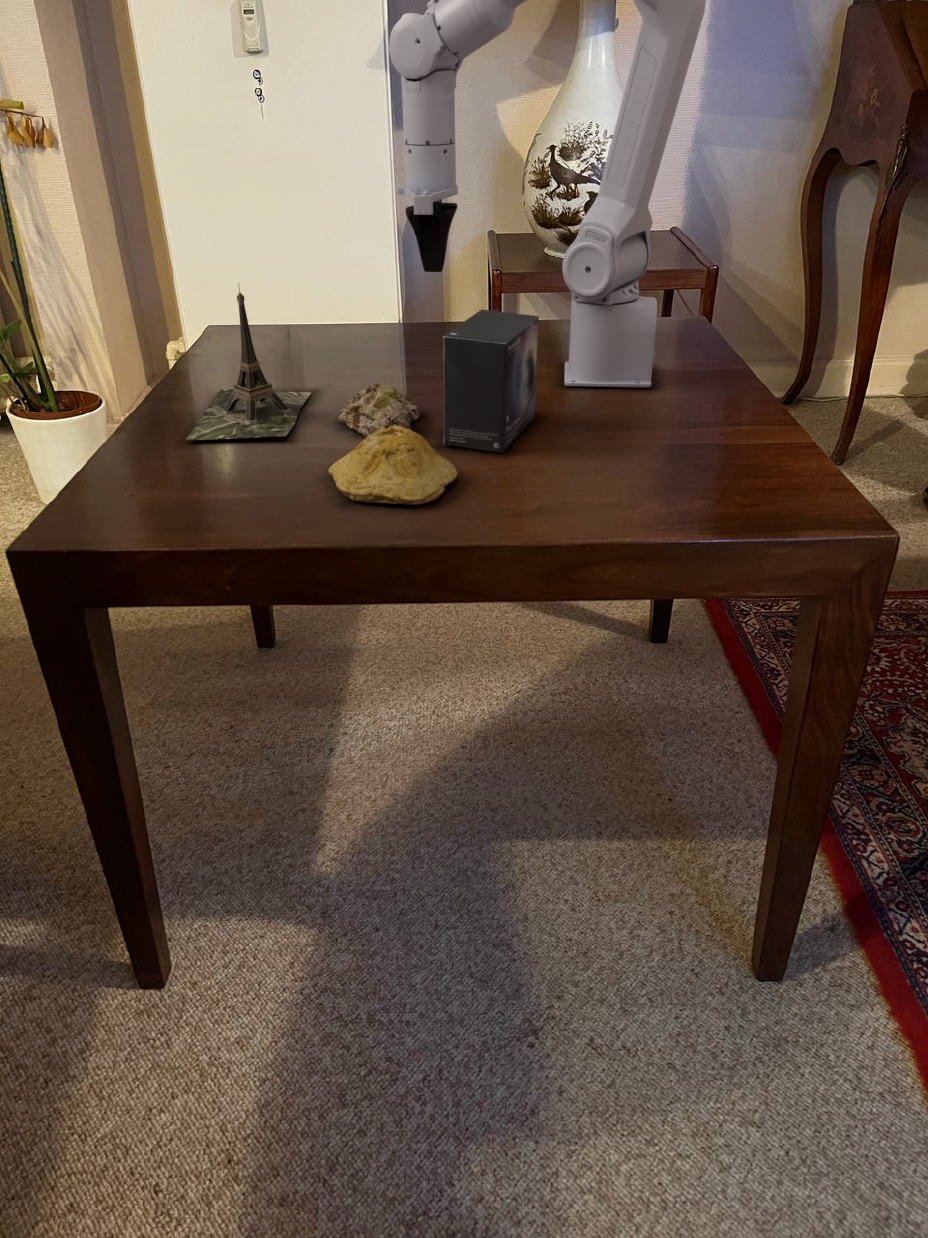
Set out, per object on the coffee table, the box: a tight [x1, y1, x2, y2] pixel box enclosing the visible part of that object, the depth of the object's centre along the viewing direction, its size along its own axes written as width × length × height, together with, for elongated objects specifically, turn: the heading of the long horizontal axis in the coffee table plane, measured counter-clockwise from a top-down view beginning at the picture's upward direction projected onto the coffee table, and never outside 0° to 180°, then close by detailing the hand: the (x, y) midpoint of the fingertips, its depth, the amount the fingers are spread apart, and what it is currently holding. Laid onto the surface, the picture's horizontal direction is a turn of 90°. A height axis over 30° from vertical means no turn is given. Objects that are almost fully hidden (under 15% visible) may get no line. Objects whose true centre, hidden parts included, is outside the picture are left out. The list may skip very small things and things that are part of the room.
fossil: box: [328, 425, 458, 506], centre depth 80 cm, size 11×6×10 cm
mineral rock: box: [338, 383, 421, 438], centre depth 93 cm, size 11×4×8 cm
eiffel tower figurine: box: [185, 282, 313, 441], centre depth 93 cm, size 15×10×13 cm
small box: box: [442, 309, 540, 454], centre depth 89 cm, size 11×6×10 cm, turn 160°
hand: (433, 270), depth 111 cm, fingers closed
